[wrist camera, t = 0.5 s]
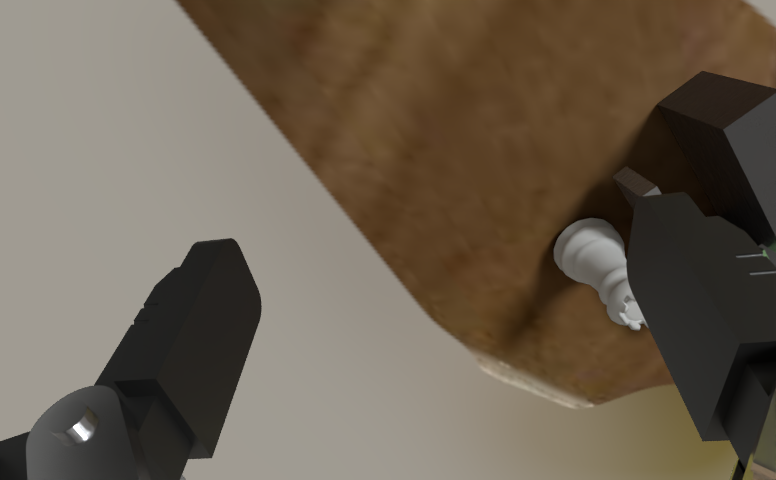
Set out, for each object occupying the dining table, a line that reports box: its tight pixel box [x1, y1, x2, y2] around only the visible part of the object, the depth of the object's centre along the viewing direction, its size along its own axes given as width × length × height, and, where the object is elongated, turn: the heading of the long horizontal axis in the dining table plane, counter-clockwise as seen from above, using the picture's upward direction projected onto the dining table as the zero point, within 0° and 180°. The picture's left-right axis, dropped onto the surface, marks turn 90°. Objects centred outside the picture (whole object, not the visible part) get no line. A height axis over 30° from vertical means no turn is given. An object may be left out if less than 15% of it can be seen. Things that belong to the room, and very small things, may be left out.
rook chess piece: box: [554, 218, 649, 330], centre depth 31 cm, size 4×4×8 cm
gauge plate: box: [612, 166, 661, 210], centre depth 31 cm, size 11×1×4 cm, turn 40°
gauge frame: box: [657, 71, 776, 267], centre depth 31 cm, size 14×8×6 cm, turn 40°
